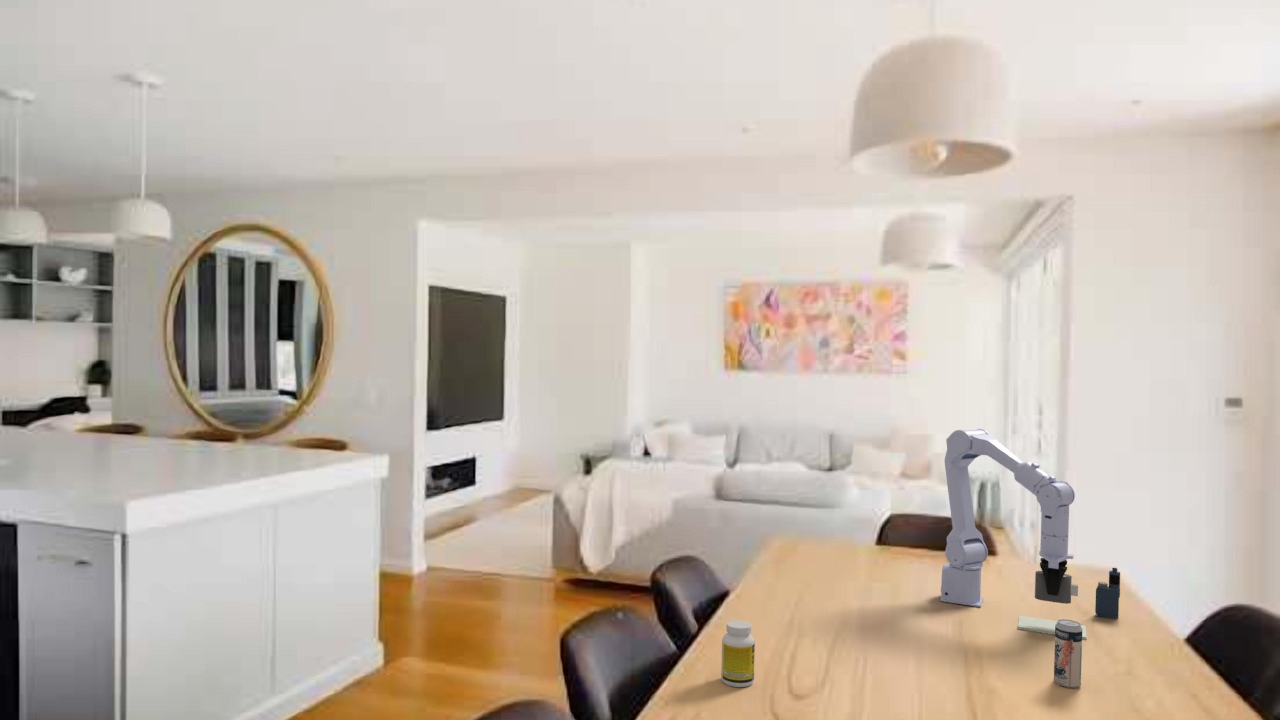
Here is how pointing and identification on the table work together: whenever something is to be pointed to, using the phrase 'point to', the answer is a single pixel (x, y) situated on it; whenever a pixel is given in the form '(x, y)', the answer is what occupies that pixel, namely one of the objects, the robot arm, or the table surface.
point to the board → (1041, 625)
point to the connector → (1064, 591)
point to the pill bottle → (738, 654)
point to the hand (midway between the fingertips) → (1052, 592)
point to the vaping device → (1108, 596)
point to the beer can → (1068, 653)
